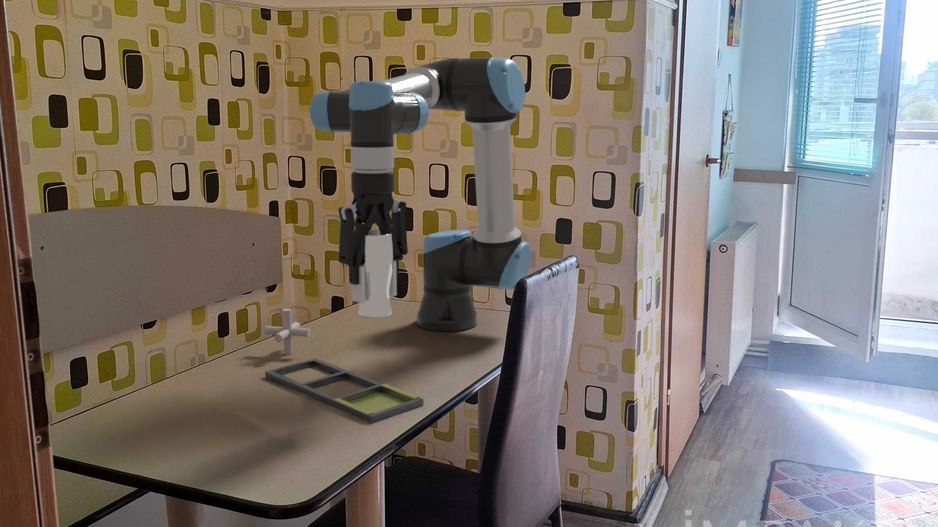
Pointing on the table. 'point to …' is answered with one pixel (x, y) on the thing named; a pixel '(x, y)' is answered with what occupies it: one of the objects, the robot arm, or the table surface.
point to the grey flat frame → (362, 403)
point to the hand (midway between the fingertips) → (374, 297)
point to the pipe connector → (287, 331)
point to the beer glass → (377, 274)
